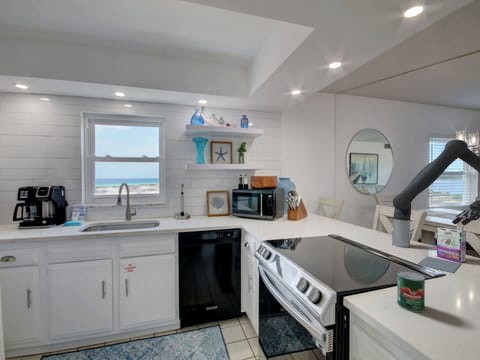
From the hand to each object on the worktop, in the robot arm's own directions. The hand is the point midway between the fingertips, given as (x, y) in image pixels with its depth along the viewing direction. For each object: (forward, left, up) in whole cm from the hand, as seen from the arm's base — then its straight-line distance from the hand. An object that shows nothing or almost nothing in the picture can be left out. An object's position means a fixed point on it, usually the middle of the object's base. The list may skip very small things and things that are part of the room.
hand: (457, 223), depth 131 cm
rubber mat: (-4, -19, -19) cm, 27 cm away
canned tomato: (0, -77, -20) cm, 79 cm away
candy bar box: (-2, -4, -20) cm, 20 cm away
